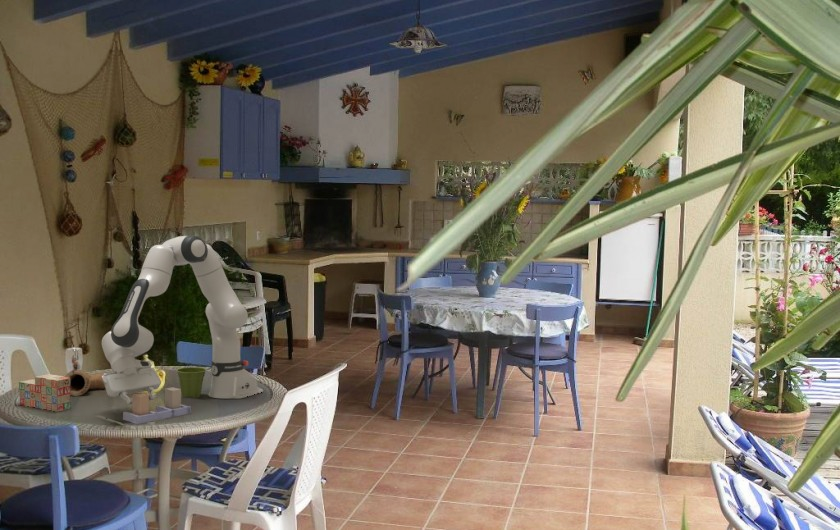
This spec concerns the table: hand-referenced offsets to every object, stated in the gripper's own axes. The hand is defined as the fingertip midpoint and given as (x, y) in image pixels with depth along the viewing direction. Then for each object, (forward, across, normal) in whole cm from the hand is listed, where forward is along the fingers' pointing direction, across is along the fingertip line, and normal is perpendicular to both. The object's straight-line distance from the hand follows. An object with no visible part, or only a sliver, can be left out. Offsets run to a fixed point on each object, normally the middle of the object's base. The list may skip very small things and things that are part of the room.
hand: (141, 401), depth 319 cm
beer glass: (-50, +16, +61) cm, 81 cm away
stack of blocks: (-27, -13, +39) cm, 49 cm away
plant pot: (-10, +36, +21) cm, 43 cm away
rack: (+5, +7, +6) cm, 10 cm away
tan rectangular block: (+4, 0, +5) cm, 7 cm away
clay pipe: (-36, +11, +48) cm, 61 cm away
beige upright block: (+4, +13, +5) cm, 15 cm away
